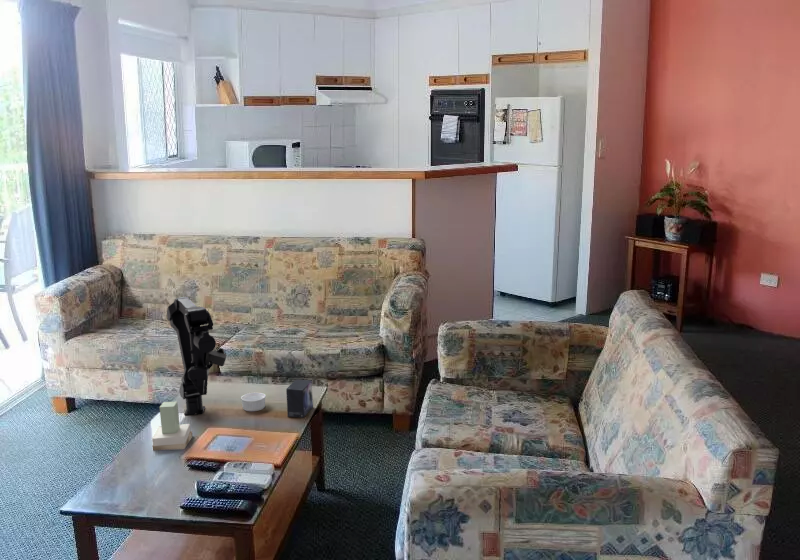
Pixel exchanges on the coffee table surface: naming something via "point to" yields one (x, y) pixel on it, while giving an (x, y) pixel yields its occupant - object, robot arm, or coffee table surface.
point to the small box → (299, 398)
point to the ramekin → (253, 401)
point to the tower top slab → (171, 436)
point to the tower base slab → (174, 446)
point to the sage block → (169, 417)
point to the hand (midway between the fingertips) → (203, 389)
